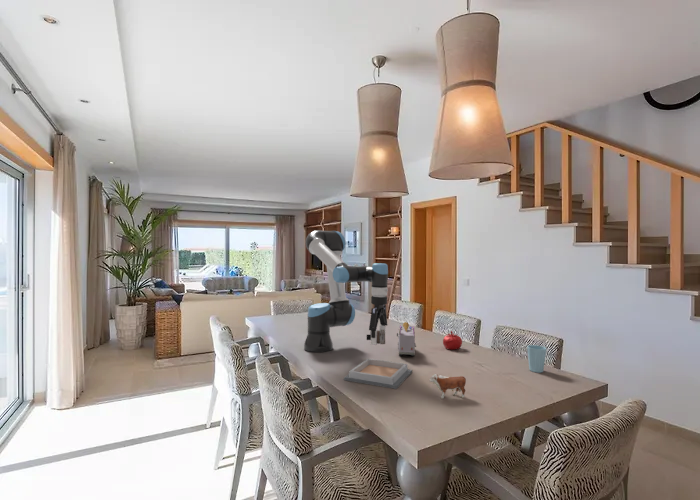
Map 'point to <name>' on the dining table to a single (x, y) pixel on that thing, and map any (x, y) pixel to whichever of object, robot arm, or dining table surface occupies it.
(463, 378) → the bull figurine
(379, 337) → the caster wheel
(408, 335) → the toy vehicle
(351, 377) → the tray
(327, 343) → the robot arm
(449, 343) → the pomegranate
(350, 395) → the dining table surface
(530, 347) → the cup
